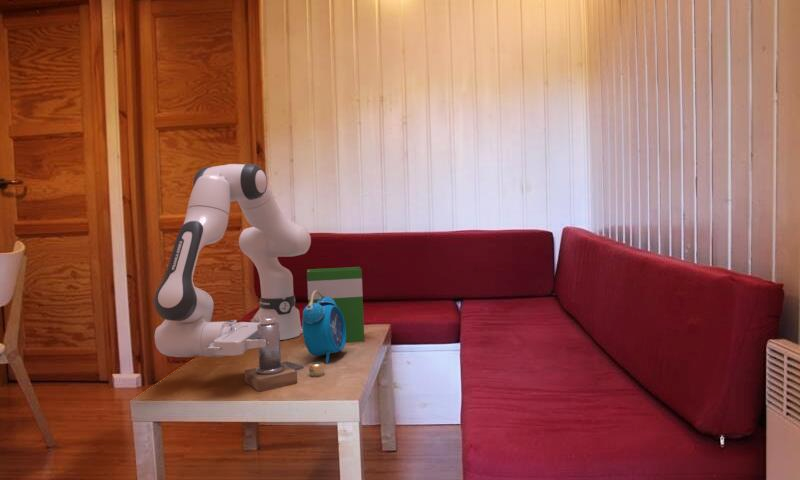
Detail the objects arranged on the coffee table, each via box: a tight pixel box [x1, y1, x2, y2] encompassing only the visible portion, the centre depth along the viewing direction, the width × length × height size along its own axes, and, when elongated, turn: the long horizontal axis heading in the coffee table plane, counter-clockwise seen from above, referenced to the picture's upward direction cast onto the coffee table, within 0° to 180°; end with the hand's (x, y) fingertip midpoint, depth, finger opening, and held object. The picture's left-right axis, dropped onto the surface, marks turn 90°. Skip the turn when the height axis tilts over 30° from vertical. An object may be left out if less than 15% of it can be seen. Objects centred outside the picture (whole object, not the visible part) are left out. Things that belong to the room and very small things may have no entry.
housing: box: [255, 317, 284, 375], centre depth 138 cm, size 7×7×14 cm
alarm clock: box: [301, 290, 346, 364], centre depth 160 cm, size 17×10×20 cm, turn 168°
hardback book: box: [306, 266, 365, 344], centre depth 179 cm, size 18×7×24 cm, turn 99°
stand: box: [244, 362, 298, 393], centre depth 138 cm, size 10×10×3 cm
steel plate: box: [281, 361, 305, 371], centre depth 150 cm, size 8×6×1 cm
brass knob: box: [308, 361, 325, 378], centre depth 143 cm, size 4×4×3 cm
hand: (272, 338), depth 138 cm, fingers open, 8 cm apart
